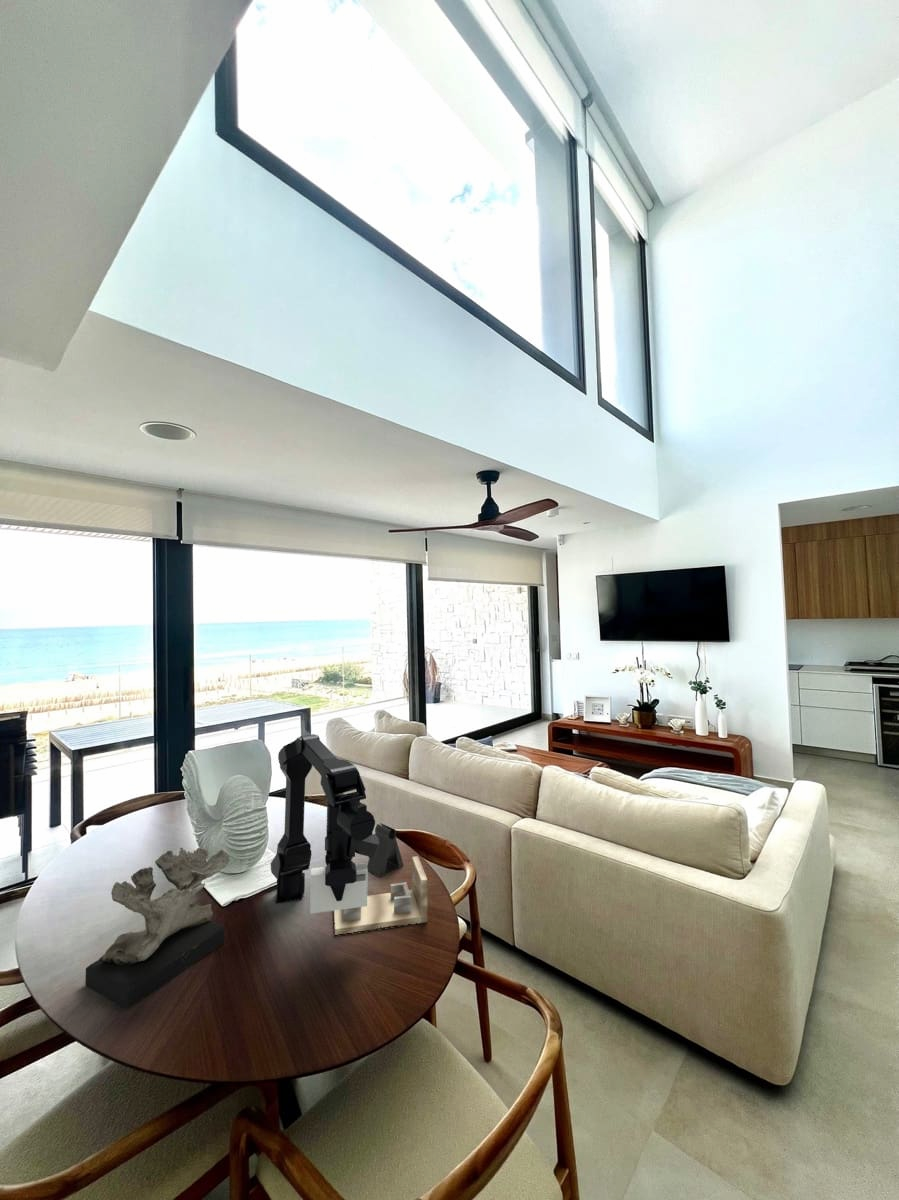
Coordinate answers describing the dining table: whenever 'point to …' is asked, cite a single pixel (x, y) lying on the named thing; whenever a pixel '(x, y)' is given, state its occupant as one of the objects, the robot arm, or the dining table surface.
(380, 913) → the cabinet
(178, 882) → the coral
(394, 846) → the door stopper
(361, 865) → the door
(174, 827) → the dining table surface
